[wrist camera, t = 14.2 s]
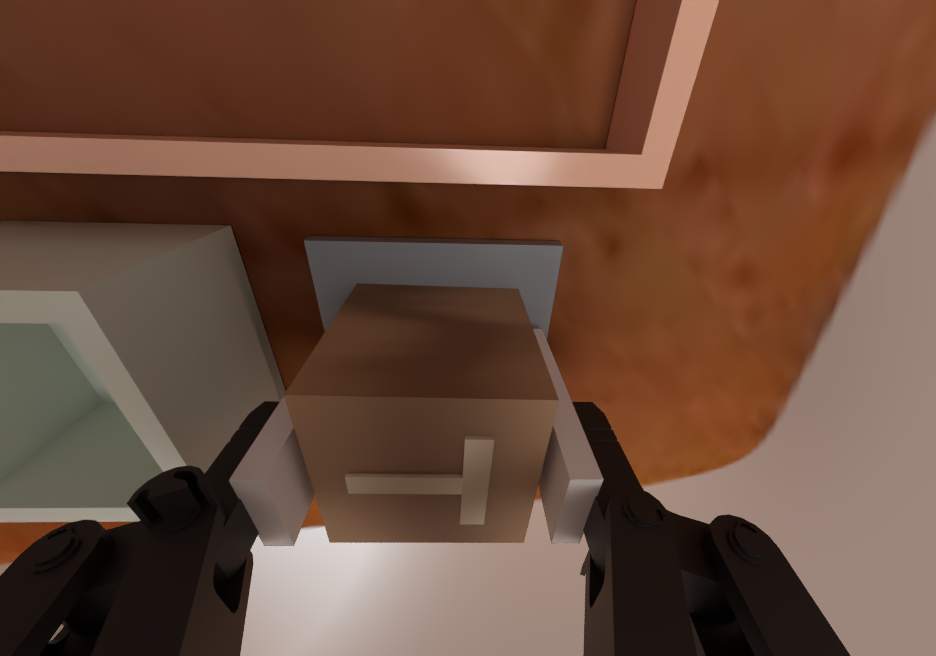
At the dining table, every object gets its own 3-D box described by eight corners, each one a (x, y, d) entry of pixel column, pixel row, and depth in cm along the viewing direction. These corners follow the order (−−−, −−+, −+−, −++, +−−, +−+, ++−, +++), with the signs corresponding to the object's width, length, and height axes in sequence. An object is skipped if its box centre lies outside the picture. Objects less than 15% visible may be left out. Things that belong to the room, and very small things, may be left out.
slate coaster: (349, 416, 17) (345, 425, 16) (310, 235, 12) (303, 240, 11) (529, 417, 17) (531, 426, 16) (559, 240, 12) (563, 245, 12)
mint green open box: (106, 405, 16) (-43, 522, 11) (-27, 219, 11) (-365, 284, 7) (290, 406, 16) (221, 520, 11) (230, 225, 12) (77, 291, 7)
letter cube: (373, 405, 15) (329, 547, 10) (356, 283, 12) (281, 398, 7) (502, 407, 16) (523, 547, 11) (518, 288, 13) (560, 403, 7)
